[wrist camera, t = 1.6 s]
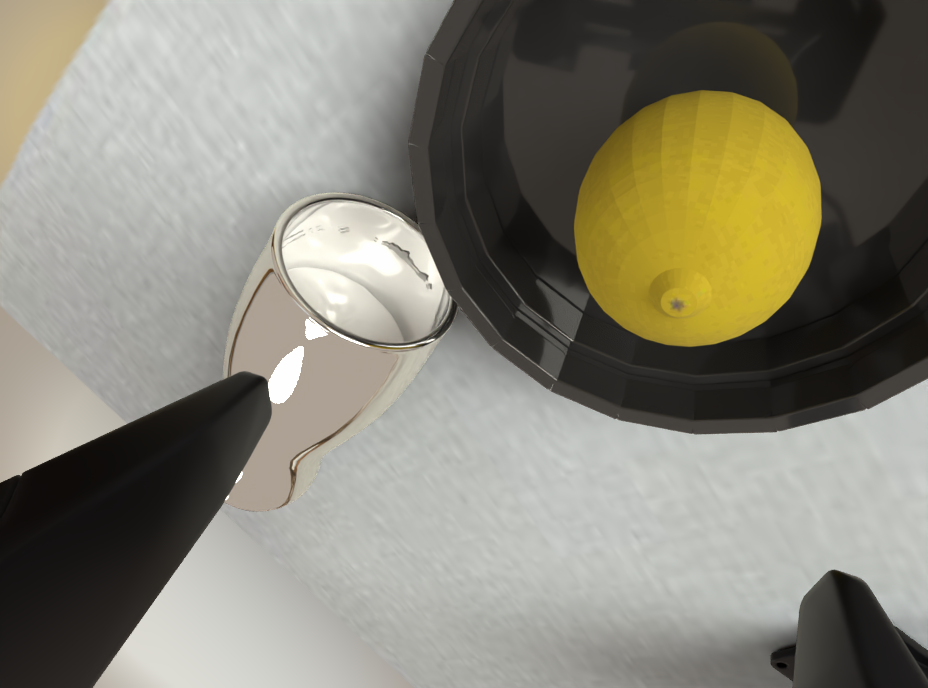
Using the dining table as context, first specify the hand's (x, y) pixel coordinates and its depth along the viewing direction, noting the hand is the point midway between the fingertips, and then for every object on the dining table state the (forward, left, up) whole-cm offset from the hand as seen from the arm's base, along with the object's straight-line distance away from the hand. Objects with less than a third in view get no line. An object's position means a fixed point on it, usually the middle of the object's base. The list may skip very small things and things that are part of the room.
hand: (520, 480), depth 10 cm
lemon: (-1, -2, -13) cm, 13 cm away
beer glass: (+4, +22, -10) cm, 24 cm away
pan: (-1, -2, -13) cm, 13 cm away
